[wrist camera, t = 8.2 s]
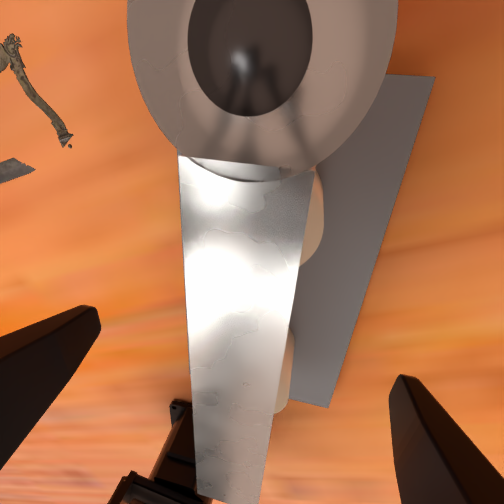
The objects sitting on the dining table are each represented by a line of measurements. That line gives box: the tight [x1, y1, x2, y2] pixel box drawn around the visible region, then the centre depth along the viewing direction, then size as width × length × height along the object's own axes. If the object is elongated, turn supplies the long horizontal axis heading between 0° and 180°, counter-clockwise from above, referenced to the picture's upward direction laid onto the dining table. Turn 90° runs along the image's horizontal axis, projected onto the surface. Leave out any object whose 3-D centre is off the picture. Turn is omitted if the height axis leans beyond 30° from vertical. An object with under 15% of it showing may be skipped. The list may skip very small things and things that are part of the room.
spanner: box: [127, 0, 398, 504], centre depth 10 cm, size 20×5×4 cm, turn 176°
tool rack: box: [177, 74, 435, 414], centre depth 16 cm, size 21×11×6 cm, turn 176°
